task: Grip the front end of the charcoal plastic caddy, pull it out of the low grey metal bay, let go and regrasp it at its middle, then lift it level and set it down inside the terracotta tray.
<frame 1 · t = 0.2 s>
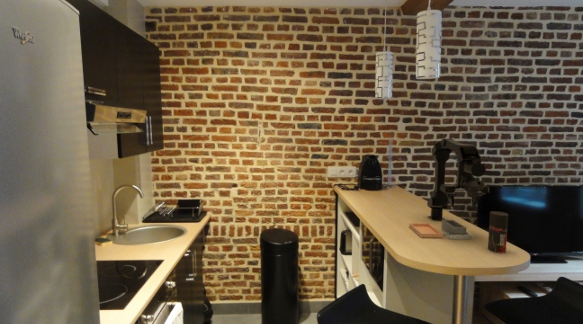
hand: (462, 207, 130), 13 cm above the breakfast bar, tool pointing down, fingers open, 9 cm apart
tray: (425, 232, 137), on the breakfast bar
deodorant: (496, 250, 116), on the breakfast bar
caddy: (453, 234, 134), on the breakfast bar
bay: (456, 235, 132), on the breakfast bar
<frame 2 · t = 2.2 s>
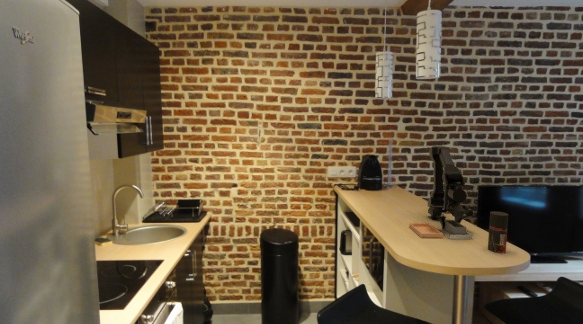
hand: (449, 229, 137), 1 cm above the breakfast bar, tool pointing down, fingers closed on caddy, 5 cm apart
caddy: (453, 234, 134), on the breakfast bar, touching gripper
everything else where it was.
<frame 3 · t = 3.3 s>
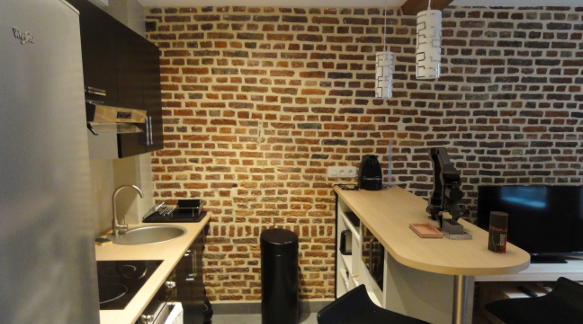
hand: (446, 227, 140), 1 cm above the breakfast bar, tool pointing down, fingers closed on caddy, 5 cm apart
caddy: (450, 232, 136), on the breakfast bar, touching gripper
everything else where it was.
when the fingers open (1 cm above the breakfast bar, at t = 4.8 s): caddy stays where it is, on the breakfast bar.
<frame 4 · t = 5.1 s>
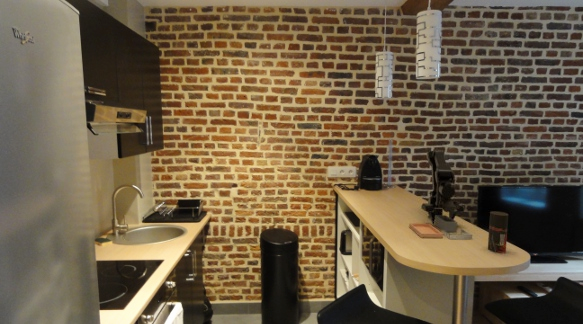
hand: (441, 224, 145), 1 cm above the breakfast bar, tool pointing down, fingers open, 8 cm apart
caddy: (445, 228, 142), on the breakfast bar
everything else where it was.
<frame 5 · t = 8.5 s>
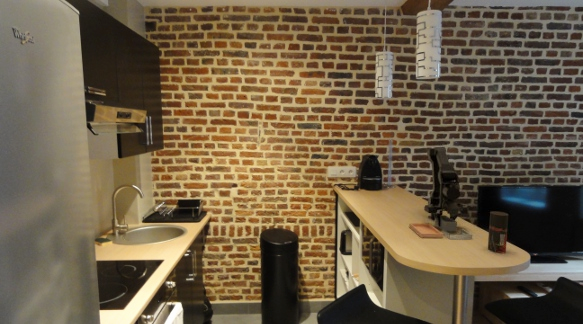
hand: (445, 226, 142), 1 cm above the breakfast bar, tool pointing down, fingers closed on caddy, 5 cm apart
caddy: (445, 228, 142), on the breakfast bar, touching gripper
everything else where it was.
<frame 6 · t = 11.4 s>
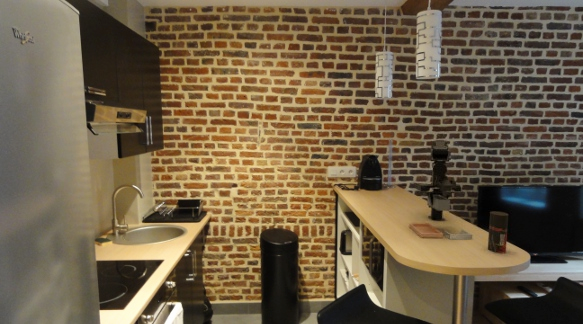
hand: (437, 205, 138), 12 cm above the breakfast bar, tool pointing down, fingers closed on caddy, 5 cm apart
caddy: (438, 207, 138), point 11 cm above the breakfast bar, touching gripper
everything else where it was.
when the fingers open (3 cm above the breakfast bar, at t = 14.6 s): caddy drops 1 cm, resting on tray.
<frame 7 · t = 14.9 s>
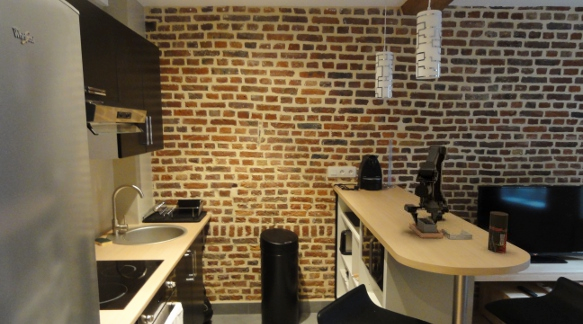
hand: (425, 226, 136), 3 cm above the breakfast bar, tool pointing down, fingers open, 8 cm apart
caddy: (425, 231, 136), resting on tray
everything else where it was.
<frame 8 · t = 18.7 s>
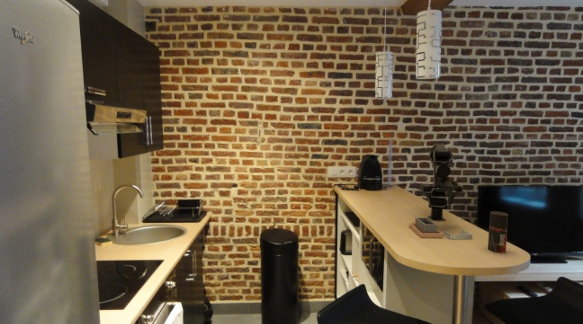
hand: (439, 205, 143), 11 cm above the breakfast bar, tool pointing down, fingers open, 9 cm apart
nothing on the breakfast bar moved.
at the end: caddy 0.2 cm off-centre on the tray, point 0.5 cm above the tray's base; caddy tilted 0°; the gripper is holding nothing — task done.
